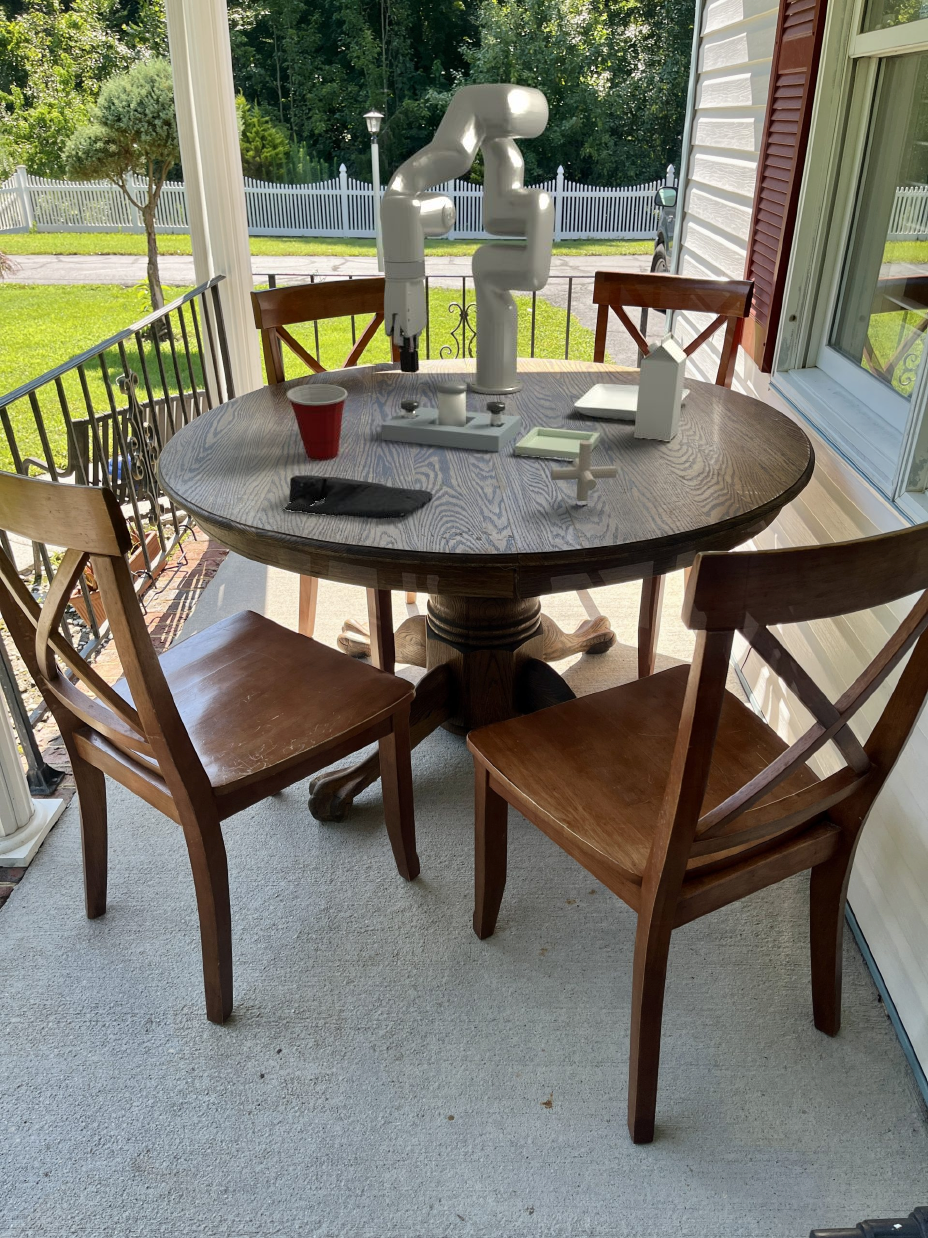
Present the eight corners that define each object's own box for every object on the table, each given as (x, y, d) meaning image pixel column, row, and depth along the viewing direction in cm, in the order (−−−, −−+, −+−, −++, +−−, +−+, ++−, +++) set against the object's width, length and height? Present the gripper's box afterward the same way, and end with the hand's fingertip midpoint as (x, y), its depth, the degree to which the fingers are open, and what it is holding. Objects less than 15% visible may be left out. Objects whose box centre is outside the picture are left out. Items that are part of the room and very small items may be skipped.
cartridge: (444, 430, 170) (443, 380, 166) (471, 432, 169) (470, 382, 164) (433, 438, 166) (431, 386, 161) (460, 440, 164) (460, 389, 159)
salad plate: (570, 420, 177) (571, 403, 176) (595, 396, 195) (596, 381, 193) (672, 430, 170) (674, 413, 169) (689, 404, 188) (690, 388, 186)
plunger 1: (406, 426, 172) (405, 399, 169) (422, 427, 171) (421, 400, 168) (398, 431, 169) (397, 403, 166) (415, 432, 168) (414, 405, 165)
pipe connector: (545, 493, 138) (547, 434, 133) (605, 491, 139) (610, 431, 134) (556, 516, 129) (559, 453, 124) (620, 514, 130) (625, 451, 125)
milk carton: (678, 432, 167) (689, 333, 158) (669, 442, 162) (681, 340, 153) (642, 428, 170) (652, 330, 161) (633, 438, 164) (642, 337, 155)
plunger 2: (489, 428, 166) (489, 400, 163) (507, 430, 165) (507, 402, 162) (483, 433, 163) (483, 405, 160) (501, 435, 162) (501, 406, 159)
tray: (534, 435, 166) (535, 426, 166) (599, 442, 162) (600, 433, 162) (514, 455, 156) (514, 445, 155) (583, 462, 152) (584, 453, 151)
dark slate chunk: (403, 532, 126) (401, 502, 124) (274, 514, 133) (271, 485, 130) (440, 497, 138) (439, 469, 136) (321, 482, 145) (319, 455, 143)
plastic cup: (303, 468, 150) (296, 401, 144) (285, 452, 158) (278, 388, 153) (360, 459, 154) (356, 393, 149) (340, 443, 163) (335, 381, 157)
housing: (411, 420, 177) (410, 406, 175) (520, 431, 169) (521, 416, 168) (382, 439, 165) (381, 424, 164) (498, 451, 158) (498, 436, 156)
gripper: (402, 264, 163) (407, 361, 172) (368, 276, 151) (375, 379, 160) (438, 265, 160) (442, 363, 170) (406, 277, 148) (412, 382, 158)
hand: (409, 371), depth 165 cm, fingers closed
